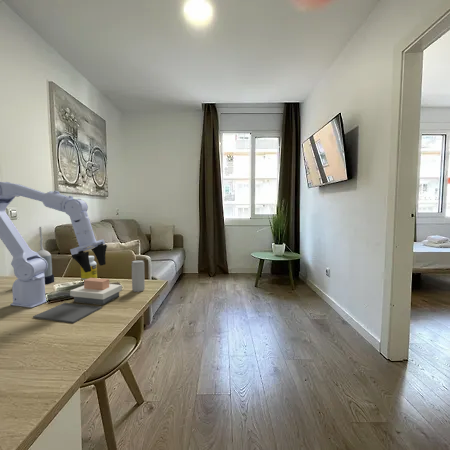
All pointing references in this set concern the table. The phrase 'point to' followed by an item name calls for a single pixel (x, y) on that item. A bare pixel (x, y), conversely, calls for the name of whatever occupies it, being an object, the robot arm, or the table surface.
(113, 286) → the lid
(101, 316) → the table surface
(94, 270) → the pill bottle
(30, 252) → the robot arm
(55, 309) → the mat
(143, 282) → the beverage can
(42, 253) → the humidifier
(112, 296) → the storage box
